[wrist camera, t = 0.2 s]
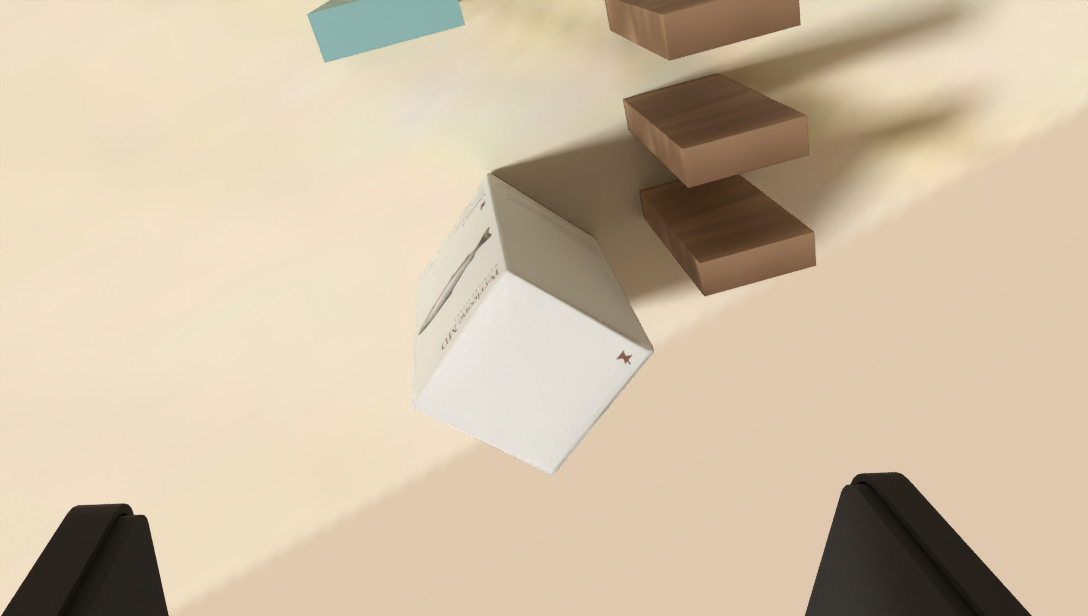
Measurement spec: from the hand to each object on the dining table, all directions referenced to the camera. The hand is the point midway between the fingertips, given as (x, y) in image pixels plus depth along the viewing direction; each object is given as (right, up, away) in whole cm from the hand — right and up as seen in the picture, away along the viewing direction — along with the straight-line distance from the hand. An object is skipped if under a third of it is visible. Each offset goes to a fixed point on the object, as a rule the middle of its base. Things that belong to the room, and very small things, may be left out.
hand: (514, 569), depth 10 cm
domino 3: (+7, +14, +28) cm, 32 cm away
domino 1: (-6, +18, +24) cm, 30 cm away
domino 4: (+8, +10, +30) cm, 33 cm away
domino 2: (+6, +18, +25) cm, 32 cm away
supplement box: (-2, +6, +30) cm, 31 cm away
